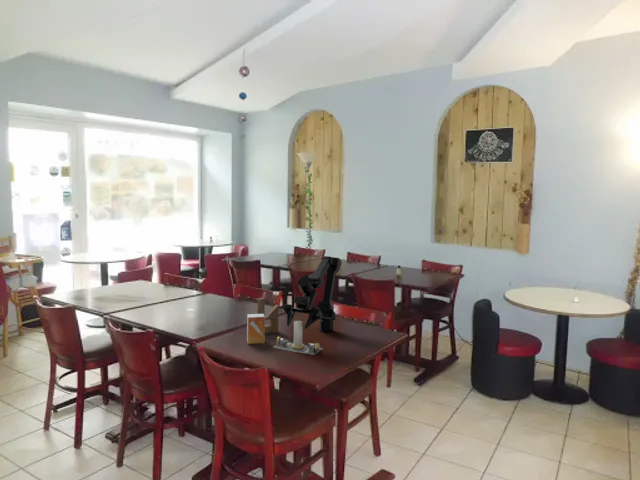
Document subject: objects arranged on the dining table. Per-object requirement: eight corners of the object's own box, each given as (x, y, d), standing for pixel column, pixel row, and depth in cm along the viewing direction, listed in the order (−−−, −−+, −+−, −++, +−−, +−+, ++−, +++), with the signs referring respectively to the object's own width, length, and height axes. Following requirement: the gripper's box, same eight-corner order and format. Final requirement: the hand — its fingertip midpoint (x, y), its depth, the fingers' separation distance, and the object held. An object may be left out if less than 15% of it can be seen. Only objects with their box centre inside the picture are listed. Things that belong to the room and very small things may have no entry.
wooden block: (278, 332, 243) (278, 298, 241) (258, 334, 239) (258, 299, 237) (276, 330, 246) (276, 296, 244) (256, 332, 242) (256, 298, 240)
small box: (247, 344, 222) (247, 317, 221) (246, 340, 229) (246, 314, 227) (264, 343, 224) (265, 316, 223) (263, 339, 230) (263, 313, 229)
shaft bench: (273, 347, 218) (273, 339, 217) (282, 342, 226) (283, 334, 225) (313, 355, 209) (313, 346, 208) (322, 349, 217) (322, 340, 216)
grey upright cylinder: (304, 345, 219) (305, 320, 218) (302, 349, 214) (302, 323, 213) (293, 344, 220) (293, 319, 219) (290, 348, 215) (290, 322, 214)
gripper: (284, 287, 222) (272, 315, 213) (320, 291, 214) (309, 320, 205) (292, 300, 230) (281, 327, 221) (327, 304, 222) (316, 333, 213)
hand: (296, 327), depth 215 cm, fingers open, 9 cm apart
